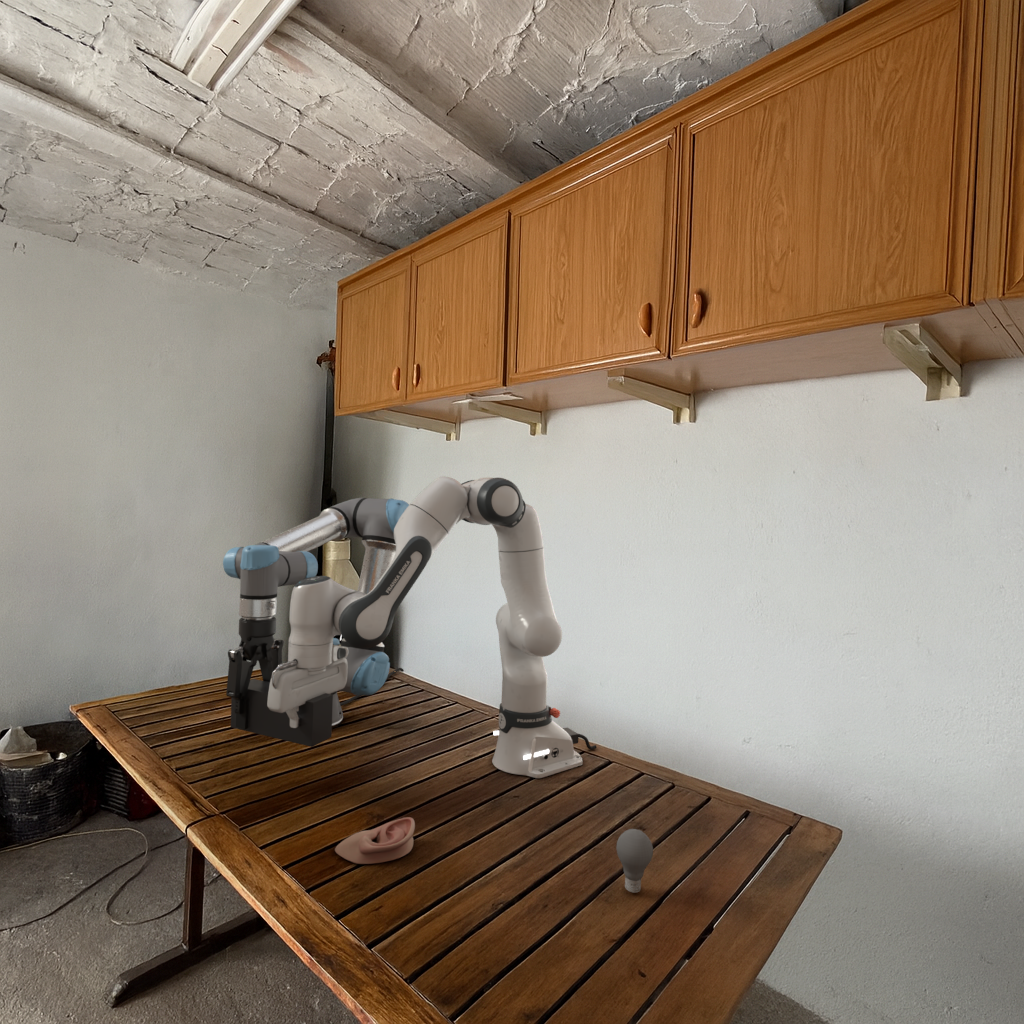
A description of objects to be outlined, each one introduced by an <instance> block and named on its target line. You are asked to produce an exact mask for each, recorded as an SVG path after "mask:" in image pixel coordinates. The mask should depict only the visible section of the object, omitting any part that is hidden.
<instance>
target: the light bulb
mask: <svg viewBox="0 0 1024 1024" xmlns="http://www.w3.org/2000/svg"><path fill="white" fill-rule="evenodd" d="M615 849H616V854H617V857H618V859H619V861H620V863H621V865H622V867H623V873H624V874H623V875H624V876H625V878H624V888H625V890H627V891H628V892H630V893H634V894H635V893H639V892H640V891H641V889H642V887H641V886H642V879H643V877H644V875H645V871H646V868H647V867H648V866H649V864H650V863H651V861H652V859H653V855H654V847H653V843H652V841H651V838H649V836H648V835H647V834H646V833H645V832H643V831H642V830H641V829H636V828H629V829H627V830H625V831H623V832H622V833H621V834H620V835H619V837H618V839H617V841H616V847H615Z"/></svg>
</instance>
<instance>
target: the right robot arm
mask: <svg viewBox="0 0 1024 1024" xmlns="http://www.w3.org/2000/svg"><path fill="white" fill-rule="evenodd" d="M461 521H465V522H466V523H468V524H469V523H470V524H477V525H481V526H490V525H492V527H493V529H494V531H495V532H496V537H497V550H498V561H499V562H498V563H499V573H500V574H499V575H500V583H501V587H502V588H503V591H504V594H505V599H506V602H505V603H504V604H502V605H501V606H500V608H499V609H498V610H497V613H496V616H495V625H496V629H497V633H498V641H499V642H498V643H499V653H500V661H501V675H502V677H501V678H502V679H501V702H500V704H499V710H498V730H493V736H497V741H496V746H495V750H494V752H493V753H494V754H493V756H492V759H491V762H492V765H493V766H494V767H495V768H496V769H498V770H500V771H502V772H504V773H508V774H513V775H519V776H527V777H531V778H533V779H534V778H535V779H542V778H546V777H548V776H552V775H555V774H558V773H561V772H565V771H568V770H570V769H574V768H577V767H580V766H583V757H582V756H581V754H580V753H578V752H577V750H575V749H574V745H576V744H579V738H580V739H582V740H583V741H584V742H585V746H586V748H587V749H588V750H589V751H593V750H596V749H597V745H596V744H594V745H590V741H589V739H588V738H587V736H585V735H584V734H581V733H577V732H576V731H575V730H572V729H571V728H569V727H561V726H560V725H559V724H558V723H557V722H555V720H553V718H555V719H558V718H560V716H561V711H560V709H558V708H556V707H551V706H550V705H548V704H547V698H548V672H547V669H546V665H545V661H544V657H548V656H550V655H551V656H552V654H554V653H555V652H556V651H557V650H558V649H559V647H560V645H561V644H562V639H563V629H562V627H561V625H560V623H559V621H558V618H557V615H556V611H555V608H554V604H553V599H552V596H551V593H550V588H549V585H548V579H547V572H546V571H547V570H546V560H545V559H546V558H545V547H544V538H543V537H544V536H543V531H542V525H541V521H540V518H539V514H538V512H537V510H536V509H535V508H534V506H532V505H530V504H527V503H526V502H525V500H524V499H523V496H522V493H521V491H520V489H519V488H518V486H517V484H515V483H514V482H512V481H511V480H509V479H506V478H504V477H480V478H478V479H471V480H467V481H464V482H462V483H461V482H459V481H458V480H457V479H455V478H452V477H450V476H439V477H437V478H435V479H434V480H432V481H431V482H430V483H429V484H427V485H426V487H424V488H423V489H422V490H421V491H420V493H418V494H417V495H416V496H415V498H414V499H413V500H412V501H411V502H410V503H409V506H408V507H407V508H406V510H405V511H404V512H403V514H402V515H401V517H400V518H399V520H398V522H397V524H396V526H395V528H394V539H395V543H396V553H395V557H394V559H393V561H392V563H391V564H390V565H389V567H388V568H387V570H386V571H385V573H384V574H383V575H382V577H381V578H380V580H379V581H378V582H377V584H376V585H375V587H374V588H373V589H372V590H371V591H370V592H369V593H368V594H365V593H363V592H360V591H357V590H358V589H357V590H356V589H353V588H350V587H347V586H345V585H343V584H341V583H339V582H337V581H335V580H334V579H333V578H332V577H330V576H327V575H316V576H315V577H309V578H306V579H303V580H301V581H299V582H298V583H297V584H294V585H293V588H292V591H291V596H290V604H289V615H288V616H289V617H288V618H289V619H288V620H289V625H290V634H289V637H288V646H287V647H288V649H287V661H286V662H282V664H279V665H278V666H277V668H276V669H275V670H274V671H273V673H272V678H271V681H270V685H269V692H268V701H267V706H268V708H269V709H270V710H271V711H274V712H279V713H283V712H286V713H287V715H288V717H289V718H290V727H292V728H297V727H299V726H301V720H302V718H300V717H298V715H297V711H299V706H301V705H303V704H305V702H306V701H307V700H310V699H312V698H315V697H317V696H320V695H322V694H325V693H327V694H331V693H333V692H336V691H337V692H339V691H338V690H341V689H343V688H344V687H345V685H346V683H347V674H348V663H347V659H346V657H347V656H348V648H347V647H343V646H338V645H334V644H333V638H335V637H336V636H341V637H342V639H343V638H344V639H345V641H346V642H347V643H348V644H350V645H351V646H353V647H355V648H359V649H368V648H372V647H375V646H377V645H379V644H380V643H381V642H382V643H383V642H384V641H385V640H386V638H387V637H388V635H389V634H390V632H391V629H392V626H393V623H394V619H395V616H396V613H397V610H398V609H399V607H400V605H401V604H402V603H403V601H404V599H405V598H406V596H407V595H408V594H409V592H410V591H411V589H412V588H413V586H414V584H415V583H416V582H417V580H418V579H419V577H420V576H421V574H422V572H423V571H424V570H425V568H426V566H427V564H428V563H429V561H430V560H431V558H432V557H433V555H434V553H435V552H436V551H437V550H438V549H439V547H440V546H441V545H442V543H443V542H444V541H445V540H446V539H447V537H448V536H449V534H450V533H451V532H452V530H453V529H454V528H455V526H456V525H457V524H458V523H459V522H461ZM552 717H553V718H552Z"/></svg>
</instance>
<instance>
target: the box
mask: <svg viewBox="0 0 1024 1024" xmlns="http://www.w3.org/2000/svg"><path fill="white" fill-rule="evenodd" d="M269 685H270V682H266V681H263V680H261V679H256V678H251V679H250V683H249V686H248V690H247V694H246V697H248V698H249V713H248V728H247V729H242V728H238V727H236V713H235V712H234V707H235V699H234V698H233V697H230V698H231V702H230V705H231V706H230V728H231V729H232V728H233V729H237V730H241V731H245V732H249V733H252V734H257V735H261V736H265V737H270V738H273V739H278V740H282V741H285V742H290V743H293V744H294V743H295V744H298V745H303V746H306V747H310V748H313V747H314V746H317V745H319V744H321V743H322V742H324V741H326V740H328V739H331V738H332V730H333V729H332V707H333V695H332V694H327V693H325V694H322V695H320V696H317V697H315V698H312V699H310V700H307V701H306V702H305V704H303V705H301V706H299V711H297V715H298V717H300V718H302V720H301V726H299V727H297V728H292V727H290V718H289V717H288V715H287V713H286V712H283V713H279V712H274V711H271V710H270V709H269V708H268V706H267V701H268V692H269ZM240 692H241V691H240Z"/></svg>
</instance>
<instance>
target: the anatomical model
mask: <svg viewBox="0 0 1024 1024" xmlns="http://www.w3.org/2000/svg"><path fill="white" fill-rule="evenodd" d="M415 828H416V823H415V820H414V818H413V817H410V816H409V817H402V818H398V819H395V820H392V821H389V822H386V823H384V824H382V825H380V826H377V827H375V828H372V829H368V830H361V831H358V832H356V833H353V834H352V835H350V836H348V837H346V838H345V839H343V840H342V841H340V843H338V844H337V845H336V846H335V848H334V852H335V853H336V854H337V855H338V856H340V857H341V858H343V859H344V860H347V861H348V862H351V863H353V864H357V865H369V864H370V865H371V864H380V863H385V862H390V861H394V860H398V859H400V858H402V857H404V856H407V855H408V854H409V853H410V852H411V851H412V849H413V847H414V837H413V835H414V833H415Z"/></svg>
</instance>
